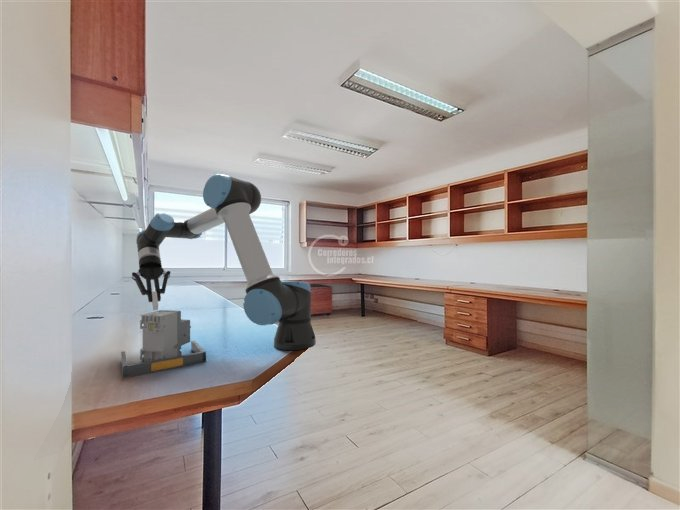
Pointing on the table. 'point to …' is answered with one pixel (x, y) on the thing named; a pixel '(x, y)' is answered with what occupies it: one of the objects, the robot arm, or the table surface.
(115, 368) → the table surface
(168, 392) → the table surface
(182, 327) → the circuit breaker
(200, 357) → the lockout stall
